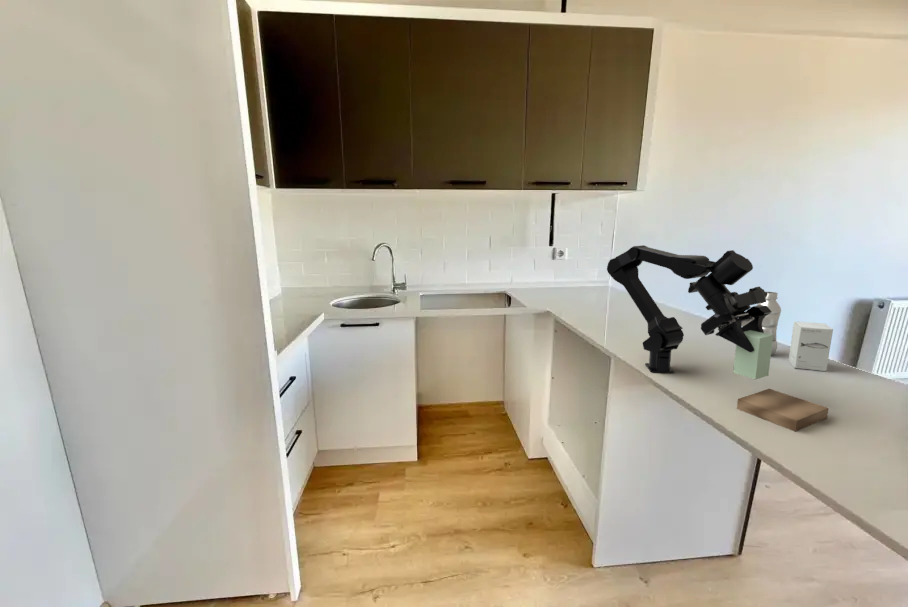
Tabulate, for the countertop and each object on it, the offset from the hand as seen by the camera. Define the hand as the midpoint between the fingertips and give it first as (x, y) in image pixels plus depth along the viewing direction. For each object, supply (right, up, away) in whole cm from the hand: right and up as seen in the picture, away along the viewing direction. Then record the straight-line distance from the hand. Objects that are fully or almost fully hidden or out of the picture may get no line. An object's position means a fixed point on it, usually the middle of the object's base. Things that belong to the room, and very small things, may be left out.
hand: (759, 349), depth 96 cm
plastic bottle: (+28, -6, +36) cm, 46 cm away
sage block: (0, -6, +3) cm, 7 cm away
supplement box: (+32, -8, +24) cm, 41 cm away
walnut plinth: (+3, -14, -2) cm, 15 cm away
